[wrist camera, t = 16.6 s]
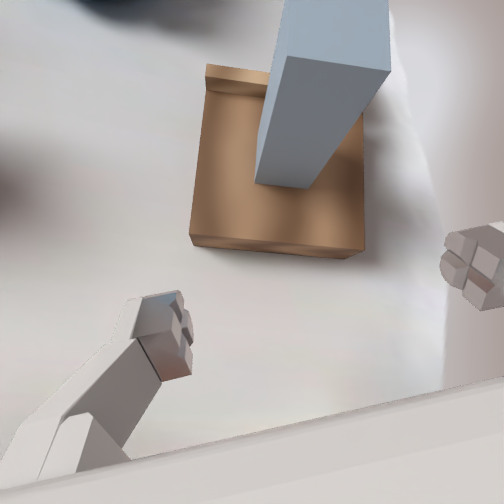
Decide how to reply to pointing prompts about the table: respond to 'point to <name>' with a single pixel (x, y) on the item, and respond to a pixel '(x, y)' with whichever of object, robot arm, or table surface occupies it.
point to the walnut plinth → (269, 196)
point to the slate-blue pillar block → (319, 84)
